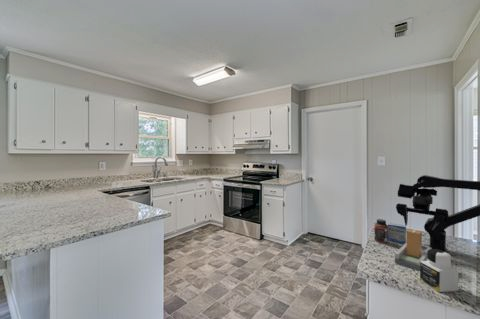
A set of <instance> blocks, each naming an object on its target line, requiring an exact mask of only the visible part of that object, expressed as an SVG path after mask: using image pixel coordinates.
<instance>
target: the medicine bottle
mask: <svg viewBox="0 0 480 319" xmlns="http://www.w3.org/2000/svg"><path fill="white" fill-rule="evenodd" d="M451 261H452V256H451V254H449V252H448V251H447V252H445V251H442V250H438V249H429V250H428V251H427V261H420V272H419V280H420V281H421V282H422V283H423V284H425V285H427V286H428V287H430V288H432V289H433V290H435V291H436V292H438V293H443V292H444V293H445V292H458V291H459V269H457V268H454V267H452V265H451V264H452V262H451Z"/></svg>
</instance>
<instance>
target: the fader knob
mask: <svg viewBox="0 0 480 319" xmlns="http://www.w3.org/2000/svg"><path fill="white" fill-rule="evenodd" d="M422 235H423V232H422V231H419V230H416V229H410V228H409V229H407V230H406V242H407V253H406V254H408V255H412V256H415V257H420V256H421V251H422V250H423V249H422V247H423V246H422V244H423V243H422V242H423V241H422V238H423V236H422Z"/></svg>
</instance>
